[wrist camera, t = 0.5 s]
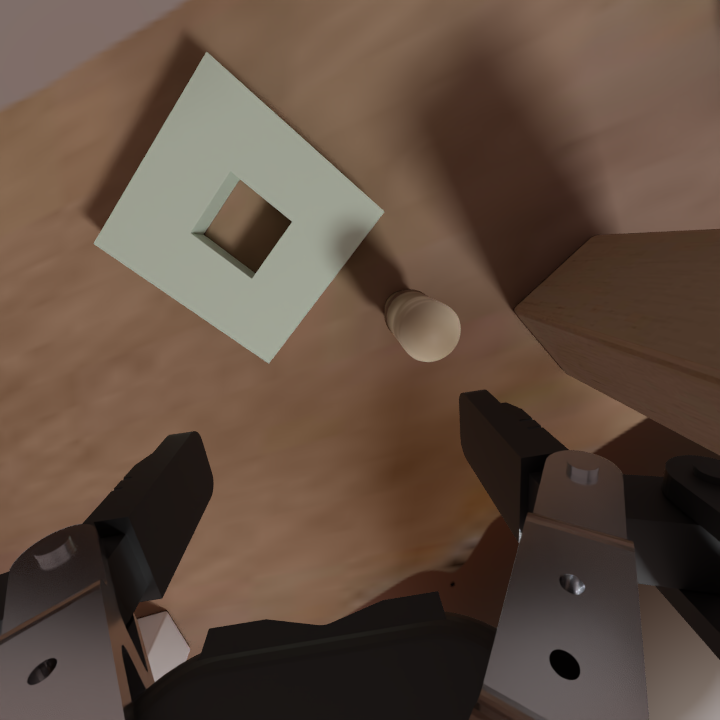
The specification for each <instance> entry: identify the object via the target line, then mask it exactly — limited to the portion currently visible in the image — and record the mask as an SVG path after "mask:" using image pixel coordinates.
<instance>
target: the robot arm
mask: <svg viewBox="0 0 720 720" xmlns="http://www.w3.org/2000/svg"><path fill="white" fill-rule="evenodd" d="M459 411H460V437H461V445H462V449H463V452H464V455H465V457H466V459H467V461H468V462H469V464H470V466H471V467H472V469H473V470H474V472H475V474H476V475H477V477H478V478H479V480H480V482H481V483H482V485H483V486H484V488H485V490H486V491H487V493H488V494H489V496H490V498H491V499H492V501H493V502H494V504H495V506H496V507H497V509H498V510H499V512H500V514H501V515H502V517H503V518H504V520H505V522H506V523H507V525H508V526H509V528H510V529H511V531H512V533H513V534H514V536H515V537H516V539H517V541H518V542H519V547H518V551H517V555H516V559H515V562H514V566H513V570H512V574H511V578H510V582H509V586H508V590H507V594H506V597H505V601H504V605H503V609H502V613H501V617H500V621H499V625H498V628H495V627H493V626H491V625H489V624H487V623H485V622H483V621H480V620H477V619H475V618H472V617H469V616H465V615H461V614H457V613H452V612H444V610H443V606H442V603H441V600H440V597H439V593H438V592H431V593H426V594H419V595H413V596H407V597H400V598H394V599H388V600H383V601H380V602H378V603H376V604H373V605H371V606H369V607H366V608H364V609H362V610H360V611H357V612H355V613H353V614H350V615H348V616H346V617H344V618H341V619H339V620H337V621H335V622H332V623H330V624H327V625H311V624H303V623H294V622H285V621H276V620H267V619H266V620H260V621H253V622H247V623H241V624H235V625H229V626H223V627H217V628H211V629H209V631H208V634H207V637H206V640H205V643H204V646H203V649H202V652H201V653H200V654H198V655H196V656H194V657H192V658H190V659H189V660H187V661H185V662H183V663H181V664H180V665H178V666H177V667H175V668H174V669H172V670H171V671H169V672H168V673H166V674H165V675H163V676H162V677H161V678H160V679H158V680H157V681H156V682H155V681H154V678H153V674H152V670H151V667H150V663H149V660H148V656H147V652H146V649H145V645H144V641H143V638H142V634H141V630H140V627H139V623H138V620H137V618H136V616H135V614H134V611H135V609H136V607H137V605H138V604H139V602H143V601H149V600H156V599H162V598H163V596H164V594H165V592H166V590H167V587H168V585H169V583H170V581H171V579H172V577H173V575H174V573H175V571H176V569H177V567H178V565H179V563H180V561H181V558H182V556H183V554H184V552H185V550H186V548H187V546H188V544H189V542H190V540H191V538H192V536H193V534H194V531H195V529H196V527H197V525H198V523H199V521H200V519H201V517H202V515H203V513H204V511H205V509H206V507H207V505H208V502H209V500H210V498H211V496H212V493H213V475H212V472H211V468H210V465H209V462H208V458H207V455H206V452H205V449H204V445H203V442H202V439H201V436H200V435H199V433H198V432H196V431H193V432H186V433H179V434H173V435H169V436H167V437H166V438H165V440H164V441H163V442H162V443H161V444H160V445H159V446H158V448H157V449H156V450H155V451H154V452H153V453H152V454H151V455H149V456H148V457H146V458H145V459H143V460H142V461H140V462H139V463H138V464H136V465H135V466H134V467H133V468H132V469H131V470H130V471H129V472H128V474H127V475H126V476H125V477H124V480H122V481H120V482H119V484H118V485H117V486H116V487H115V488H114V491H111V492H110V494H109V495H108V496H107V497H106V498H105V499H104V500H103V501H102V502H101V504H100V505H99V506H98V507H97V508H96V509H95V510H94V511H93V512H92V514H91V515H90V516H89V517H88V518H87V519H86V520H85V521H84V523H83V524H78V525H73V526H70V527H67V528H64V529H61V530H59V531H56V532H54V533H52V534H50V535H48V536H46V537H45V538H43V539H41V540H40V541H38V542H37V543H35V544H34V545H32V546H31V547H30V548H28V549H27V550H26V551H25V552H23V553H22V554H21V555H20V556H19V557H18V558H17V559H16V561H15V562H14V563H13V565H12V566H11V568H10V571H9V572H6V573H3V574H0V720H649V712H648V700H647V690H646V677H645V666H644V654H643V641H642V630H641V618H640V607H639V594H638V583H639V584H647V585H654V586H656V587H657V589H658V590H659V591H660V592H661V593H662V594H663V595H664V597H665V598H666V599H667V600H668V601H669V602H670V603H671V604H672V606H673V607H674V608H675V609H676V610H677V611H678V613H679V614H680V615H681V616H682V617H683V618H684V619H685V621H686V622H687V623H688V624H689V625H690V626H691V627H692V628H693V630H694V631H695V632H696V633H697V634H698V635H699V636H700V638H701V639H702V640H703V641H704V642H705V643H706V644H707V646H708V647H709V648H710V649H711V650H712V651H713V653H714V654H715V655H716V656H717V657H718V658H719V659H720V460H717V459H713V458H708V457H702V456H692V455H685V456H677V457H673V458H671V459H669V460H668V461H667V462H666V466H665V471H664V476H663V477H656V476H638V475H625V474H622V473H621V471H620V469H618V467H617V466H616V465H614V464H613V463H612V462H610V461H609V460H607V459H605V458H603V457H601V456H598V455H595V454H592V453H588V452H584V451H576V450H568V449H567V448H566V447H565V446H564V445H563V444H561V443H560V442H559V441H558V440H557V439H556V438H554V437H553V436H552V435H551V434H550V433H549V432H548V431H546V430H545V429H544V428H541V425H539V424H538V423H537V422H536V421H535V420H532V418H531V417H530V416H529V415H528V414H527V413H526V412H524V411H523V410H522V409H520V408H518V407H516V406H513V405H511V404H509V403H500V402H499V401H498V400H497V399H496V398H495V397H494V396H493V395H491V394H490V393H489V392H488V391H487V390H478V391H472V392H465V393H461V394H460V397H459Z"/></svg>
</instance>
